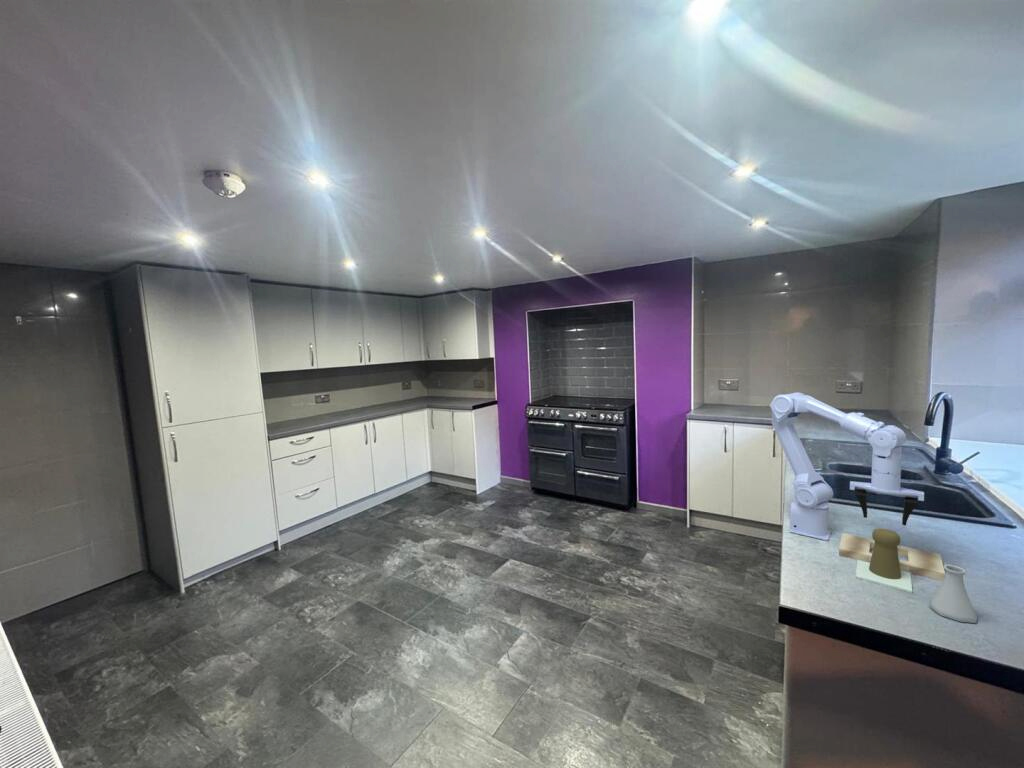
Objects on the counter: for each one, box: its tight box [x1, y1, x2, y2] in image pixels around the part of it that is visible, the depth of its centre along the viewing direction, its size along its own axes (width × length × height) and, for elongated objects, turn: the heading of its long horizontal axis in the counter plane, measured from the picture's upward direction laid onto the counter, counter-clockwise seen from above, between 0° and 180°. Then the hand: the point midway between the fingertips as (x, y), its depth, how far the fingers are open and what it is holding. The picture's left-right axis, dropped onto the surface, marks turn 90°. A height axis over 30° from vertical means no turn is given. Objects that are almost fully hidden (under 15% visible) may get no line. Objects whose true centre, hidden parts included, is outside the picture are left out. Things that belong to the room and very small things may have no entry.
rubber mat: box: [855, 560, 913, 594], centre depth 100 cm, size 10×10×1 cm
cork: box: [869, 527, 901, 579], centre depth 100 cm, size 6×6×11 cm
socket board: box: [838, 532, 946, 582], centre depth 108 cm, size 20×12×2 cm, turn 47°
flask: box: [928, 564, 978, 624], centre depth 86 cm, size 7×7×10 cm
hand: (884, 520), depth 108 cm, fingers open, 7 cm apart
